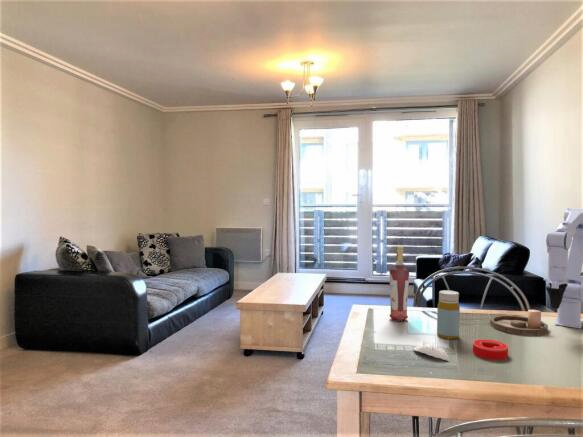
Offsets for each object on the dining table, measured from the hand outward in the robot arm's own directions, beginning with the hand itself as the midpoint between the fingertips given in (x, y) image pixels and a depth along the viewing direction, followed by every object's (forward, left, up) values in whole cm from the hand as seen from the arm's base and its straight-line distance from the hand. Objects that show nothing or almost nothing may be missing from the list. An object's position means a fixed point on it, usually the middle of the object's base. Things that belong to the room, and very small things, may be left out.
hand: (556, 305), depth 153 cm
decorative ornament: (+35, -14, -10) cm, 39 cm away
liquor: (+17, -50, -10) cm, 54 cm away
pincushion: (+47, -28, -10) cm, 55 cm away
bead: (0, -7, -9) cm, 11 cm away
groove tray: (0, -12, -9) cm, 15 cm away
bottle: (+26, -29, -10) cm, 40 cm away
